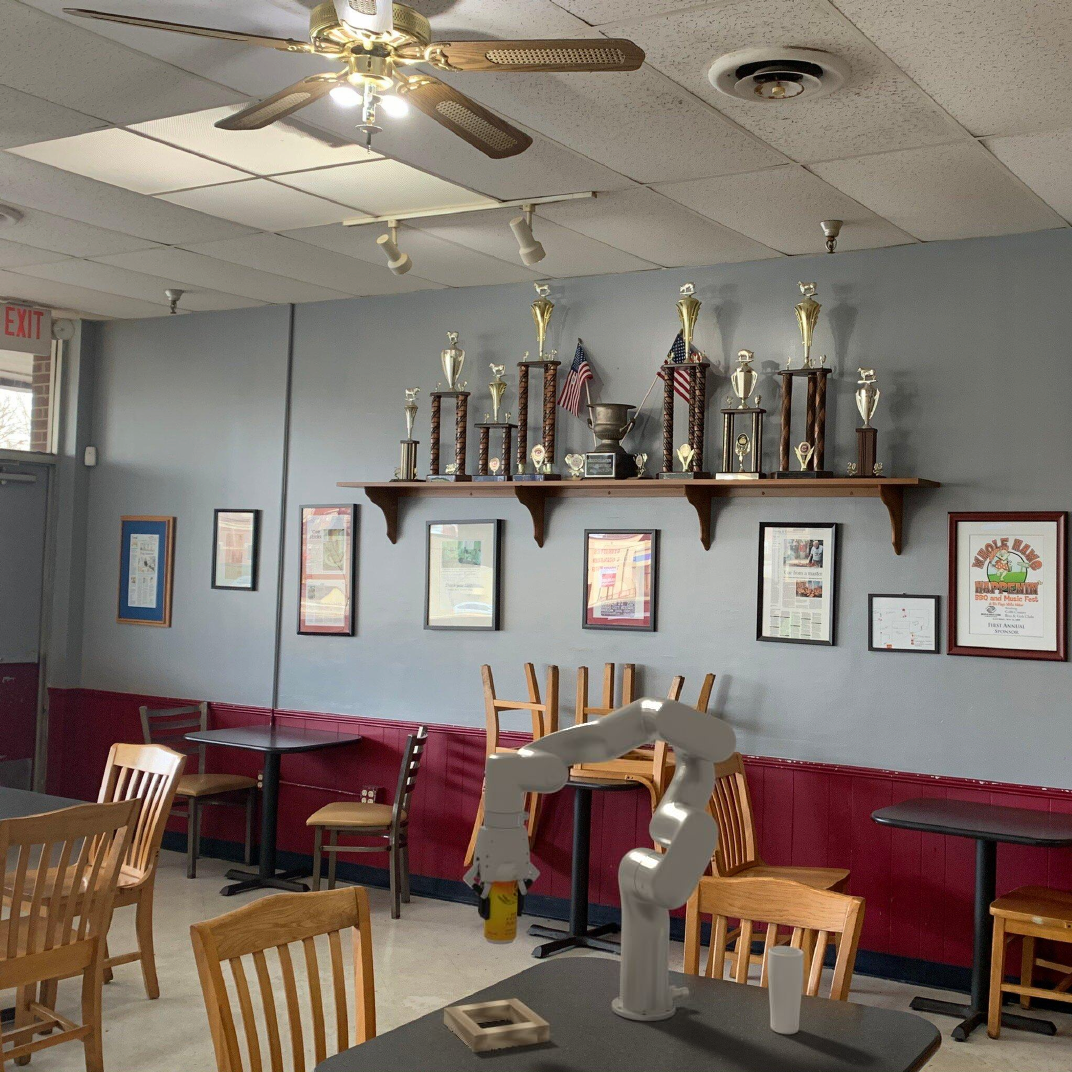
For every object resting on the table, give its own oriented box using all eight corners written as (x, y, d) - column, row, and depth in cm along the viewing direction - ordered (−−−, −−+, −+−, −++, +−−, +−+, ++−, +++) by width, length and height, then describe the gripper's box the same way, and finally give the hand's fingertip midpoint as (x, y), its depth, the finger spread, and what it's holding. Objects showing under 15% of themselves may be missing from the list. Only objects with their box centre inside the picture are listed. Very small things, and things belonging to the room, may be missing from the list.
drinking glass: (806, 1027, 231) (807, 948, 231) (798, 1039, 224) (799, 958, 225) (771, 1021, 233) (772, 943, 234) (762, 1032, 227) (764, 952, 228)
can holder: (515, 1013, 234) (516, 998, 234) (549, 1041, 220) (549, 1024, 220) (443, 1024, 227) (444, 1008, 227) (474, 1052, 214) (474, 1035, 214)
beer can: (512, 946, 221) (514, 864, 221) (480, 943, 222) (483, 861, 223) (519, 937, 227) (521, 857, 227) (488, 934, 228) (490, 855, 229)
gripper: (536, 813, 233) (533, 907, 232) (453, 818, 225) (450, 915, 224) (553, 820, 226) (550, 917, 225) (469, 826, 218) (465, 926, 217)
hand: (500, 915), depth 225 cm, fingers closed on beer can, 6 cm apart
